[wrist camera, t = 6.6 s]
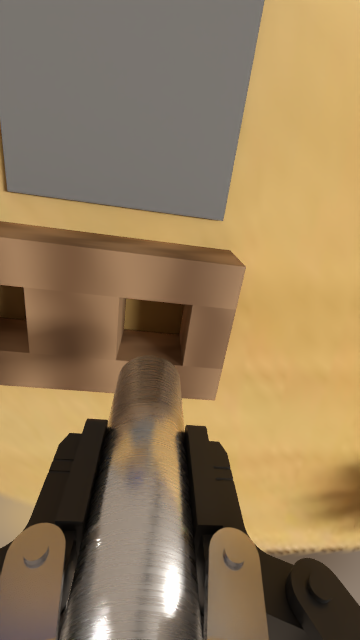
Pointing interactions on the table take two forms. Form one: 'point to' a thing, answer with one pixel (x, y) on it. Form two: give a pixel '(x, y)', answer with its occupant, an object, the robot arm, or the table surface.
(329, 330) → the table surface
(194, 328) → the socket block
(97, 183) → the mat
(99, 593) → the peg
